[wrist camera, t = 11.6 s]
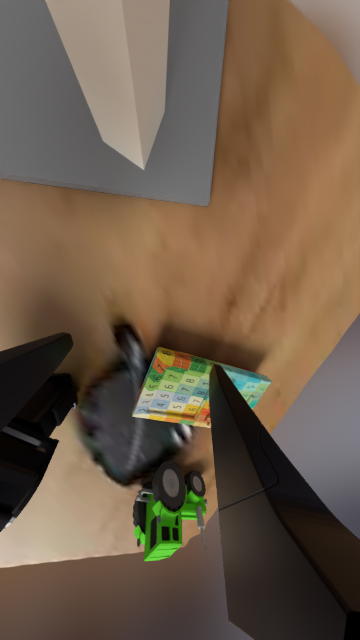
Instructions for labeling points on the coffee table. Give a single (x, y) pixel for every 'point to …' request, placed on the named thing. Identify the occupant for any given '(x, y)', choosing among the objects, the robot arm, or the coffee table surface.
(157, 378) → the puzzle game
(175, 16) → the mat
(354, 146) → the coffee table surface
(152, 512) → the toy tractor
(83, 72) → the card box
